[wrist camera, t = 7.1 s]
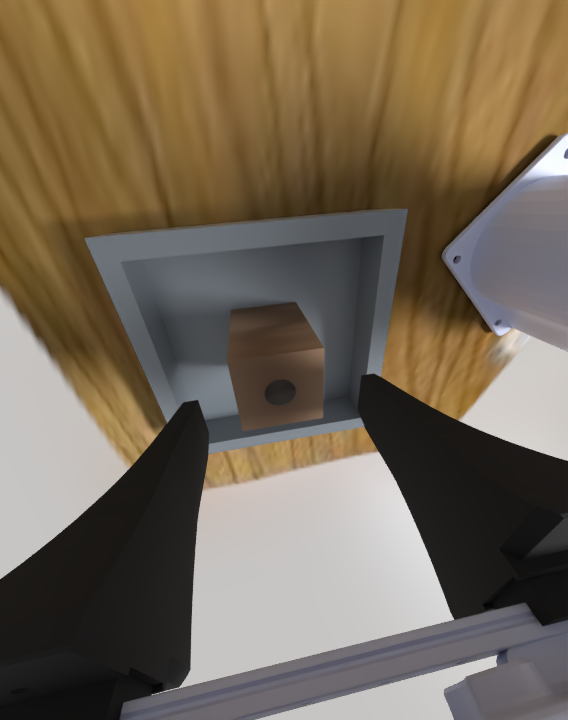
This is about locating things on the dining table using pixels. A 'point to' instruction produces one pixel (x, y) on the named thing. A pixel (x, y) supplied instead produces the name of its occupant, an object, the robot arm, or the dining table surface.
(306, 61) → the dining table surface
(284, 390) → the walnut block
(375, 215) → the tray
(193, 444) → the robot arm
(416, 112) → the dining table surface
